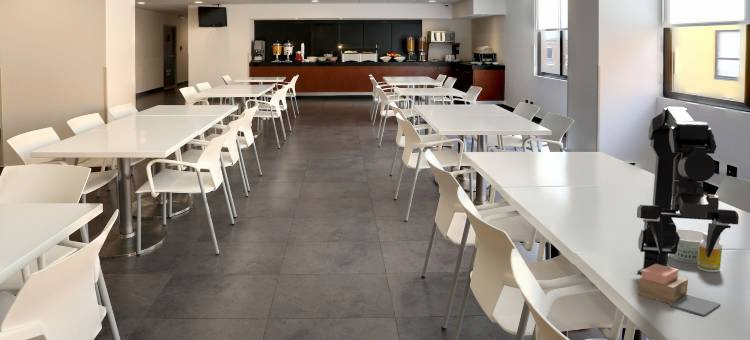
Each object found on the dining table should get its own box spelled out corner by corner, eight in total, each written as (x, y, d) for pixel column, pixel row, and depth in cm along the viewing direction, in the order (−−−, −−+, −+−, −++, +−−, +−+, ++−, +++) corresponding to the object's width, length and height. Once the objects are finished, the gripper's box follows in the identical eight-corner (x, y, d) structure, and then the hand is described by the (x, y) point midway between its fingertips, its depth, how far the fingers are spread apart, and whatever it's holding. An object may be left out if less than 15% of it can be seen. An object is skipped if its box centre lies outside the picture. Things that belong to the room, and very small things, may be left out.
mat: (686, 296, 154) (687, 294, 154) (720, 305, 149) (720, 303, 149) (669, 306, 148) (670, 304, 148) (704, 316, 143) (704, 314, 143)
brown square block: (653, 286, 161) (654, 270, 160) (686, 295, 155) (688, 279, 154) (638, 294, 155) (639, 278, 155) (671, 304, 150) (673, 287, 149)
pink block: (654, 271, 159) (655, 263, 159) (677, 277, 155) (678, 269, 155) (641, 278, 155) (642, 270, 154) (664, 284, 151) (665, 276, 150)
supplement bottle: (720, 273, 169) (724, 237, 168) (698, 271, 171) (701, 235, 170) (718, 267, 174) (722, 232, 172) (696, 264, 176) (699, 230, 174)
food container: (666, 261, 179) (668, 238, 178) (662, 248, 190) (664, 227, 189) (714, 266, 175) (717, 243, 174) (707, 253, 186) (709, 231, 185)
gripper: (647, 179, 131) (643, 256, 131) (749, 184, 127) (745, 263, 127) (638, 179, 142) (634, 250, 142) (731, 183, 138) (728, 257, 138)
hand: (684, 255), depth 137 cm, fingers open, 9 cm apart
